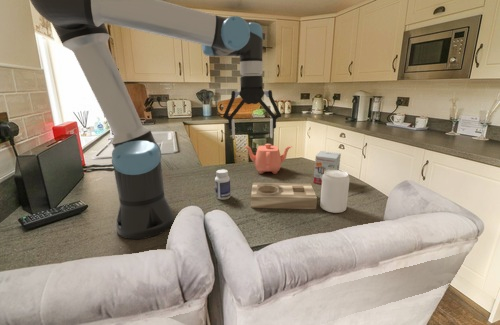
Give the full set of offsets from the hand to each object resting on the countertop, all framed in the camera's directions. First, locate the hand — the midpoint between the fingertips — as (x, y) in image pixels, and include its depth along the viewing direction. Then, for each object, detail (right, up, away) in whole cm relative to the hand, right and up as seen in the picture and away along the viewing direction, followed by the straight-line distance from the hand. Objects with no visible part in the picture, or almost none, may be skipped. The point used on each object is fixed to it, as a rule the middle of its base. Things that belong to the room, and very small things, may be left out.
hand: (252, 137), depth 92 cm
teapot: (+7, -13, +27) cm, 31 cm away
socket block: (+10, -22, -3) cm, 25 cm away
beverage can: (+26, -24, -9) cm, 36 cm away
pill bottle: (-11, -21, 0) cm, 24 cm away
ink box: (+30, -17, +14) cm, 37 cm away
